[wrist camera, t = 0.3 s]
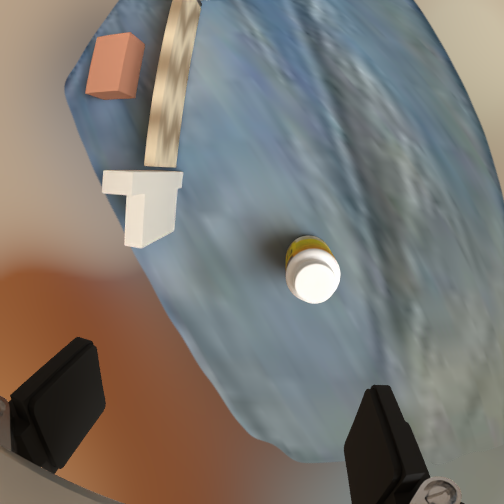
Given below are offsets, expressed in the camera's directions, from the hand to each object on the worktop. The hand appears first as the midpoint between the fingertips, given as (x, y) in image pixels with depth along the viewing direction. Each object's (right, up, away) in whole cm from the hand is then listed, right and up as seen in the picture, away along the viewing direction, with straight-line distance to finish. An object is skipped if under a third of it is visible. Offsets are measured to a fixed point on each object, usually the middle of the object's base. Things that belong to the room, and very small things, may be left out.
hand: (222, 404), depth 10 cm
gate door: (-8, +27, +25) cm, 38 cm away
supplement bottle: (+8, +4, +30) cm, 31 cm away
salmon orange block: (-16, +29, +26) cm, 43 cm away
